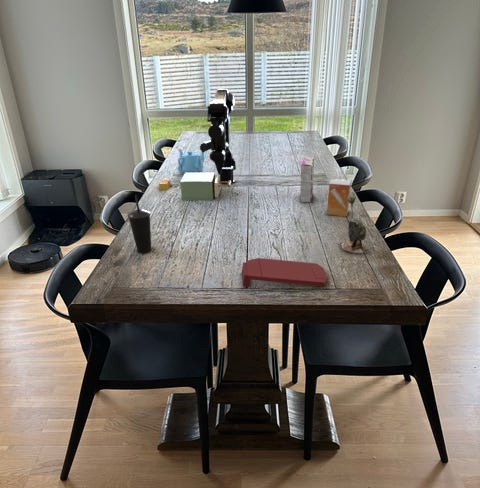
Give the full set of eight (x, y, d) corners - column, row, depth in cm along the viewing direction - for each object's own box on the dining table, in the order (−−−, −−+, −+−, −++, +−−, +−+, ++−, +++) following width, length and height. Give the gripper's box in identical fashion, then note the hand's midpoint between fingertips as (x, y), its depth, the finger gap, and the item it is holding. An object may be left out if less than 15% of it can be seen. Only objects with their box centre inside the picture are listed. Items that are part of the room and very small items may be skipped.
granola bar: (170, 184, 221) (170, 178, 219) (167, 189, 214) (167, 183, 212) (162, 184, 221) (161, 178, 220) (159, 189, 214) (158, 183, 213)
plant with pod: (346, 258, 149) (353, 200, 139) (337, 243, 159) (343, 188, 148) (370, 256, 149) (378, 198, 139) (360, 242, 159) (367, 187, 149)
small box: (326, 215, 182) (328, 183, 175) (328, 209, 187) (331, 178, 180) (346, 216, 179) (350, 184, 173) (348, 211, 185) (351, 180, 178)
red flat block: (317, 277, 146) (241, 270, 143) (321, 263, 143) (243, 256, 141) (325, 296, 135) (243, 289, 133) (329, 282, 133) (245, 275, 130)
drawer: (232, 188, 211) (231, 174, 207) (230, 197, 200) (229, 182, 197) (193, 188, 212) (191, 174, 208) (189, 197, 201) (187, 183, 198)
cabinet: (215, 190, 212) (214, 172, 208) (212, 199, 201) (211, 181, 196) (186, 190, 213) (185, 172, 209) (181, 200, 201) (180, 181, 197)
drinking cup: (145, 257, 154) (136, 200, 143) (128, 252, 157) (119, 197, 147) (159, 248, 159) (152, 193, 149) (143, 243, 163) (135, 190, 152)
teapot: (174, 174, 234) (172, 155, 229) (180, 166, 247) (178, 147, 242) (202, 175, 233) (201, 155, 228) (206, 166, 246) (205, 147, 241)
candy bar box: (301, 193, 204) (303, 157, 196) (312, 194, 203) (314, 157, 195) (299, 202, 195) (301, 164, 186) (311, 203, 194) (313, 164, 185)
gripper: (203, 129, 201) (205, 164, 209) (196, 139, 185) (199, 176, 193) (228, 129, 200) (229, 164, 208) (223, 139, 184) (225, 176, 192)
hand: (220, 170), depth 201 cm, fingers open, 9 cm apart
